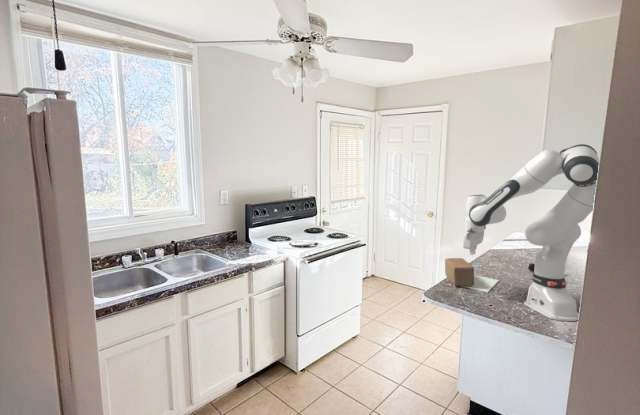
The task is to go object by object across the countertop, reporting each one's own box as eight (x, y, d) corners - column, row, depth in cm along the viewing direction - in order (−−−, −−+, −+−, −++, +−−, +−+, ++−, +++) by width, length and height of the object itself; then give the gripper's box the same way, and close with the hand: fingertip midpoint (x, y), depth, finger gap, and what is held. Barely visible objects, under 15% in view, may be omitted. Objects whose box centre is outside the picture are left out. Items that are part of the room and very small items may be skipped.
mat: (487, 292, 166) (487, 291, 166) (454, 284, 176) (454, 284, 176) (498, 280, 182) (499, 280, 182) (468, 274, 193) (468, 273, 193)
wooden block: (474, 267, 170) (462, 257, 190) (453, 267, 172) (444, 258, 191) (474, 286, 171) (463, 274, 191) (454, 286, 172) (444, 275, 192)
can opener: (527, 273, 197) (528, 263, 196) (527, 269, 202) (528, 260, 202) (565, 278, 188) (566, 268, 187) (563, 274, 194) (564, 265, 193)
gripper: (474, 231, 156) (472, 260, 158) (486, 225, 171) (485, 251, 173) (460, 229, 160) (458, 257, 162) (473, 223, 176) (472, 249, 177)
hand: (472, 254), depth 168 cm, fingers closed
